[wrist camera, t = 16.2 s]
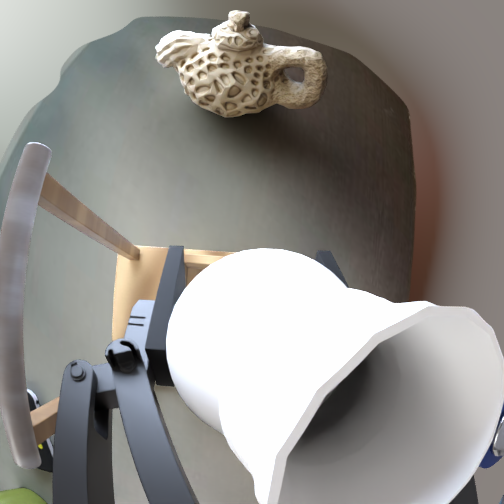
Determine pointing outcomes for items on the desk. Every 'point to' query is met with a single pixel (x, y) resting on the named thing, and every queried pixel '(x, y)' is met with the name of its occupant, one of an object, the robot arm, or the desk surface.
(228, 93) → the teapot
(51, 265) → the desk surface
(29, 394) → the remote control
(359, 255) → the desk surface
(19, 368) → the rack
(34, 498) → the flower pot
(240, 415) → the water bottle
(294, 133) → the desk surface
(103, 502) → the robot arm
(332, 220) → the desk surface
